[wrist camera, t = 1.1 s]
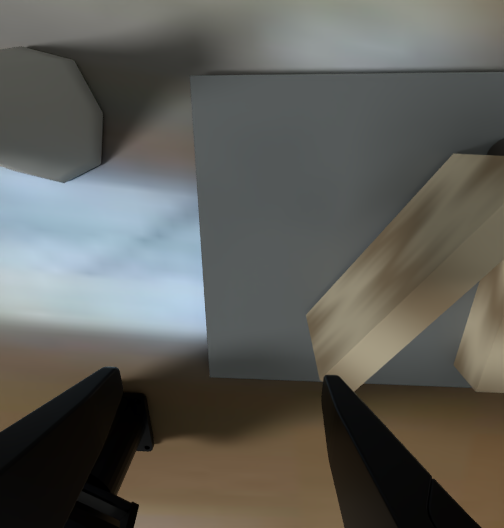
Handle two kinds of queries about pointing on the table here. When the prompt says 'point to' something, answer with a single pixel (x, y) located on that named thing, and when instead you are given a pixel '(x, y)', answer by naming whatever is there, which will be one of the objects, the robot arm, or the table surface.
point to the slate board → (321, 203)
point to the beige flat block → (412, 270)
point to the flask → (47, 116)
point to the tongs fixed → (485, 328)
